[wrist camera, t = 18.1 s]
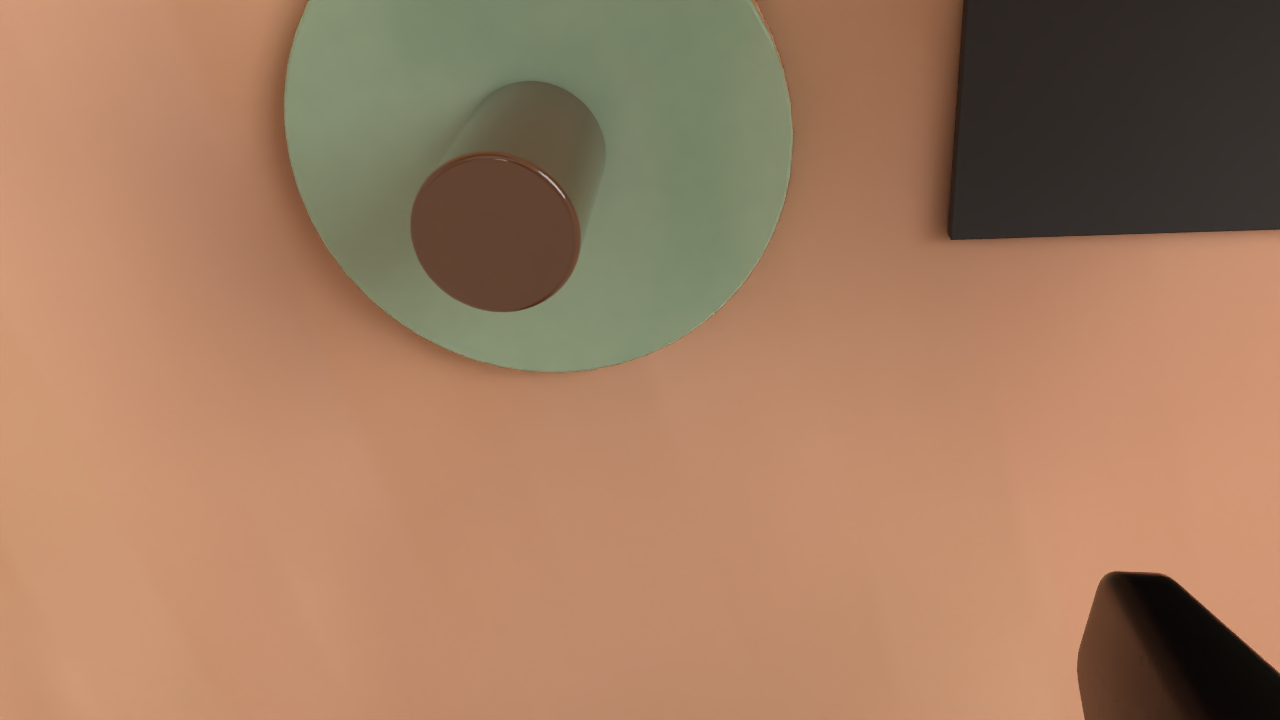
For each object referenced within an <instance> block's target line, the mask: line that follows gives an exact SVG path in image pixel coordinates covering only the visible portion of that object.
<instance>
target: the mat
mask: <svg viewBox="0 0 1280 720" xmlns="http://www.w3.org/2000/svg"><path fill="white" fill-rule="evenodd" d="M1276 229H1280V0H964V6H963V20H962V34H961V48H960V63H959V77H958V91H957V106H956V120H955V134H954V149H953V163H952V177H951V191H950V206H949V220H948V235H949V237H950V239H951V240H964V239H996V238H1027V237H1058V236H1089V235H1120V234H1151V233H1182V232H1214V231H1245V230H1276Z"/></svg>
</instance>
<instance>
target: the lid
mask: <svg viewBox="0 0 1280 720" xmlns="http://www.w3.org/2000/svg"><path fill="white" fill-rule="evenodd" d="M284 128H285V134H286V141H287V147H288V154H289V160H290V164H291V167H292V171H293V174H294V178H295V181H296V185H297V188H298V191H299V194H300V196H301V198H302V201H303V203H304V206H305V208H306V210H307V213H308V215H309V217H310V220H311V222H312V223H313V225H314V227H315V229H316V230H317V232H318V234H319V236H320V237H321V239H322V241H323V243H324V244H325V246H326V248H327V249H328V251H329V252H330V253H331V255H332V256H333V257H334V259H335V260H336V261H337V263H338V264H339V265H340V267H341V268H342V269H343V271H344V272H345V273H346V275H347V276H348V277H349V278H350V279H351V280H352V281H353V282H354V283H355V284H356V285H357V286H358V287H359V288H360V289H361V291H362V292H363V293H364V294H365V295H366V296H367V297H368V298H369V299H371V300H372V301H373V302H374V303H375V304H377V305H378V306H379V307H380V308H381V309H382V310H384V311H385V312H386V313H387V314H388V315H389V316H391V317H392V318H394V319H395V320H396V321H398V322H399V323H401V324H402V325H404V326H405V327H407V328H408V329H410V330H411V331H413V332H414V333H416V334H417V335H419V336H421V337H423V338H425V339H427V340H429V341H431V342H433V343H435V344H437V345H438V346H440V347H442V348H444V349H447V350H450V351H452V352H455V353H457V354H460V355H462V356H465V357H467V358H470V359H473V360H477V361H480V362H484V363H488V364H492V365H495V366H499V367H504V368H511V369H518V370H524V371H531V372H560V373H561V372H573V371H586V370H593V369H598V368H603V367H608V366H613V365H618V364H621V363H624V362H628V361H631V360H634V359H637V358H640V357H643V356H646V355H648V354H650V353H652V352H655V351H657V350H659V349H661V348H663V347H665V346H667V345H669V344H671V343H674V342H675V341H677V340H678V339H680V338H681V337H683V336H685V335H686V334H688V333H689V332H691V331H692V330H694V329H696V328H697V327H699V326H700V325H701V324H702V323H704V322H705V321H706V320H707V319H708V318H710V317H711V316H712V315H713V314H714V313H716V312H717V311H718V310H719V309H720V308H722V307H723V306H724V304H725V303H726V302H727V301H728V300H729V299H730V298H731V297H732V296H733V295H734V294H735V293H736V291H737V290H738V289H739V288H740V287H741V286H742V285H743V284H744V282H745V281H746V279H747V278H748V276H749V275H750V273H751V272H752V271H753V269H754V268H755V266H756V265H757V263H758V262H759V261H760V259H761V257H762V255H763V253H764V251H765V249H766V247H767V245H768V243H769V241H770V240H771V238H772V236H773V234H774V231H775V229H776V226H777V223H778V220H779V217H780V215H781V212H782V209H783V206H784V203H785V199H786V194H787V189H788V184H789V179H790V175H791V166H792V152H793V126H792V111H791V102H790V96H789V91H788V87H787V82H786V77H785V72H784V67H783V63H782V61H781V58H780V55H779V52H778V49H777V46H776V43H775V41H774V38H773V35H772V32H771V30H770V28H769V26H768V24H767V22H766V20H765V18H764V16H763V14H762V12H761V11H760V9H759V7H758V5H757V3H756V1H755V0H308V2H307V5H306V7H305V10H304V12H303V14H302V17H301V19H300V22H299V24H298V26H297V29H296V31H295V35H294V39H293V43H292V47H291V51H290V55H289V59H288V63H287V71H286V80H285V89H284Z"/></svg>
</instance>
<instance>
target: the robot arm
mask: <svg viewBox="0 0 1280 720" xmlns="http://www.w3.org/2000/svg"><path fill="white" fill-rule="evenodd" d="M1077 672H1078V683H1079V689H1080V695H1081V701H1082V706H1083V712H1084V718H1085V720H1280V673H1279V672H1278V671H1276V670H1275V669H1274V668H1273V667H1272V666H1271V665H1270V664H1269V663H1267V662H1266V661H1265V660H1264V659H1263V658H1262V657H1261V656H1260V655H1258V654H1257V653H1256V652H1255V651H1254V650H1253V649H1252V648H1251V647H1249V646H1248V645H1247V644H1246V643H1245V642H1244V641H1243V640H1241V639H1240V638H1239V637H1238V636H1237V635H1236V634H1235V633H1234V632H1232V631H1231V630H1230V629H1229V628H1228V627H1227V626H1226V625H1225V624H1223V623H1222V622H1221V621H1220V620H1219V619H1218V618H1217V617H1216V616H1214V615H1213V614H1212V613H1211V612H1210V611H1209V610H1208V609H1206V608H1205V607H1204V606H1203V605H1202V604H1201V603H1200V602H1199V601H1197V600H1196V599H1195V598H1194V597H1193V596H1192V595H1191V594H1190V593H1188V592H1187V591H1186V590H1185V589H1184V588H1183V587H1182V586H1181V585H1179V584H1178V583H1177V582H1176V581H1175V580H1173V579H1172V578H1170V577H1168V576H1166V575H1164V574H1160V573H1147V572H1121V571H1114V572H1111V573H1108V574H1106V575H1105V576H1104V577H1103V578H1102V580H1101V581H1100V583H1099V585H1098V588H1097V591H1096V594H1095V598H1094V601H1093V604H1092V608H1091V611H1090V614H1089V618H1088V621H1087V624H1086V628H1085V631H1084V634H1083V638H1082V641H1081V644H1080V648H1079V652H1078V662H1077Z"/></svg>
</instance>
